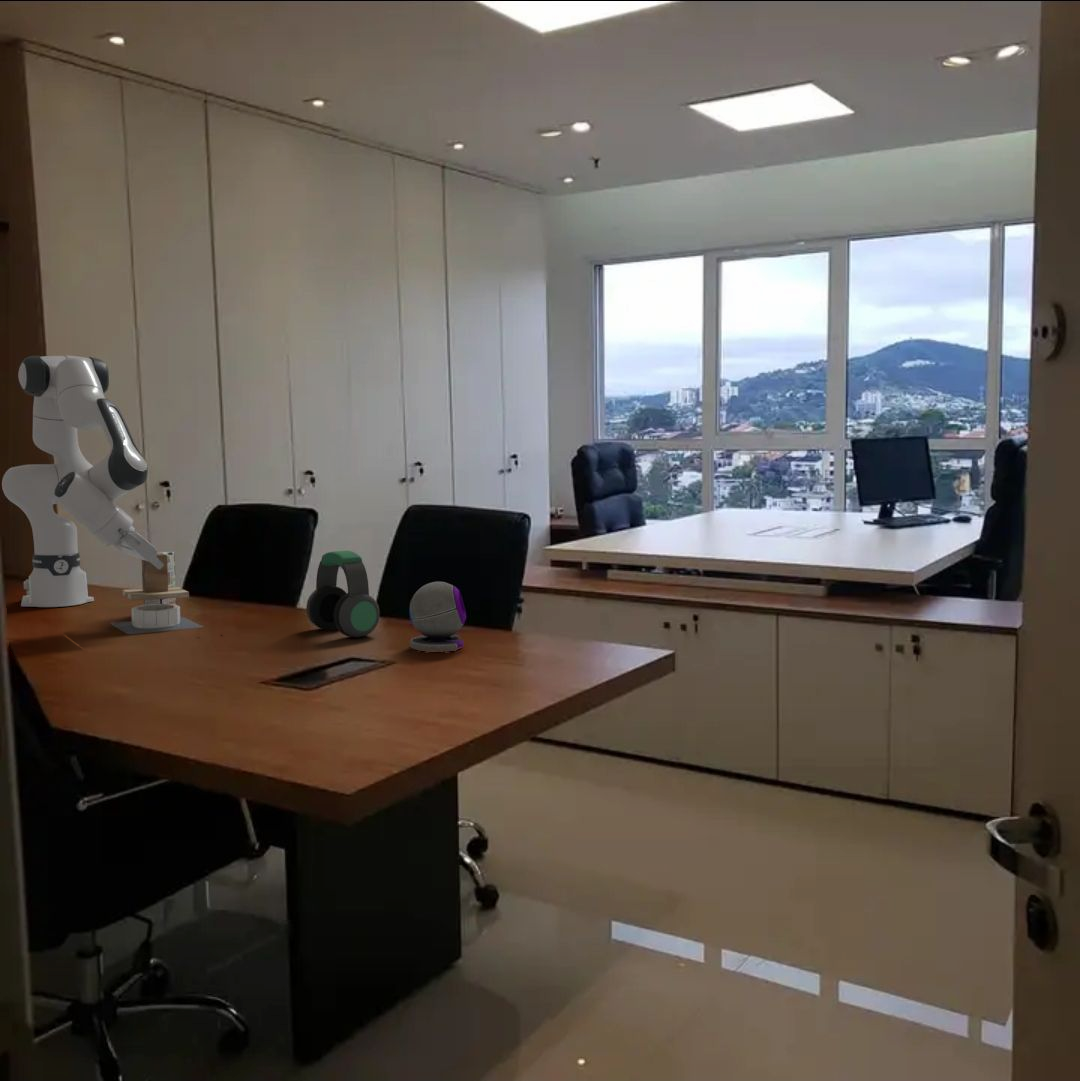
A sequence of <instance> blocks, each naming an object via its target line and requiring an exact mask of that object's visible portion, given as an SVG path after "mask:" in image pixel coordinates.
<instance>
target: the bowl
mask: <svg viewBox="0 0 1080 1081" xmlns="http://www.w3.org/2000/svg"><path fill="white" fill-rule="evenodd" d="M130 609H131V621H132V623H133V627H134V628H139V629H161V628H170V627H175V626H178V625H179V624H180V617H181V607H180V605H178V604H177V605H173V604H150V605H144V604H142V605H135V606H133V607H132V608H130Z"/></svg>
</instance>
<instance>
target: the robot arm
mask: <svg viewBox="0 0 1080 1081" xmlns="http://www.w3.org/2000/svg"><path fill="white" fill-rule="evenodd" d="M109 372H110V371H109V368H108V365H107V364H106V363H105V361H104V360H102V359H100V358H96V357H92V356H88V357H84V356H77V355H70V354H69V355H67V354H65V355H47V356H40V355H32V356H27V357H25V358H24V359H23V360H22V361H21V363H20V364H19V368H18V375H17V376H18V382H19V384H20V387H21V390H22V391H23V392H24V393H25V394H26V395H29V396H32V397H33V406H32V441H33V444H34V445H35V446H36V447H37V448H38V449H40V450H41V451H43V452H45V453H47V454H49V455H52V456H54V457H55V463H49V464H48V463H47V464H40V463H39V464H37V463H36V464H35V463H34V464H22V465H17V466H12V467H10V468H9V469H7V470H6V471H5V473H4V474H3V477H2V481H1V488H2V491H3V494H4V496H5V497H6V498H7V499H8V501H10V502H11V503H13V504H14V505H15V506H17V507H18V508H20V510H21V511H22V512H23V513H24V514H25V515H26V517H27V519H28V520H29V521H28V522H30V526H31V529H32V536H33V537H32V538H33V546H34V548H33V549H34V552H33V554H32V567H33V570H32V572H31V573H30V574H29V576H28V579H25V581H23V590H26V591H25V594H26V595H22V599H21V604H20V607H23V608H24V607H25V608H26V607H37V608H58V607H70V606H77V605H82V604H85V603H89V602H94V601H95V598H94V596H89V595H88V592H89V591H88V581H87V573H86V572H85V571H84V570H83V569H81V567H80V565H81V555H80V552H79V550H78V549H79V548H78V543H79V542H78V528H77V525H76V523H75V522H74V521H72V520H71V519H70V518H68V517H64V516H63V515H60V514H58V513H56V511H55V510H54V505H58V504H59V505H60V506H61V507H62V508H63V509H64V510H65V511H66V512H67V513H68V514H69V515H70V516H71V517H72V518H74V519H75V521H77V522H79V523H81V524H83V525H84V526H85V527H86V528H87V529H88V531H89V532H90V533H91V534H92V535H93V536H94V537H96V538H97V540H99V541H100V542H101V543H102V544H103V545H104V546H106V547H109V546H114V547H115V548H116V549H118V550H120V551H121V552H122V553H124V554H125V555H127V556H131V557H134V558H137V559H139V560H141V561H142V560H145V561H148V562H150V563H151V564H152V565H153V566H154V567H155V568H157V569H161V568H162V567H163V566H164V564H163V563H162V562H161V561H160V560H159V559H158V558H157V556H156V554H157V553H158V552H159V550H158V549H157V548H156V547H155V546H154V545H153V544H152V543H150V542H149V541H148V540H147V539H146V538H145V537H143V536H142V535H141V533H138V532H137V531H136V529H135V527H134V526H133V524H134V519H133V518H132V517H131V516H130V515H128V513H126V512H125V510H123V509H122V508H121V507H120V506H118V505H117V504H115V503H114V502H115V501H116V500H118V499H121V497H123V496H125V495H126V494H127V493H128V492H130V491H132V490H134V489H136V488H137V487H140V486H141V485H143V484H144V483H145V482H146V480H147V479H148V464H147V461H146V459H145V458H144V456H143V455H142V453H141V452H140V451H139V450H140V449H138V446H137V445H136V442H135V441H134V438H133V436H132V433H131V431H130V430H129V427H128V425H127V422H126V419H125V418H124V416H123V414H122V412H121V411H120V409H119V407H118V406H117V405H116V403H114V401H113V400H111V399H108V398H106V397H105V393H107V391H108V389H109V384H110V379H111V378H110V377H111V376H110V373H109ZM98 429H103V432H104V435H105V437H106V439H107V442H108V443H109V446H110V449H109V452H108V453H107V455H106V456H105V457H104V458H103V459H101V460H100V461H98V462H97V463H96V464H95V465H93V464H91V463H90V462H89V461H88V460H87V459H86V458H85V456H84V455H83V453H82V450H81V449H80V445H79V437H78V436H79V435H78V430H84V431H93V430H98Z"/></svg>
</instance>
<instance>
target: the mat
mask: <svg viewBox="0 0 1080 1081" xmlns="http://www.w3.org/2000/svg"><path fill="white" fill-rule="evenodd" d="M109 624H110V625H112V626H113V627H115V628H117V629H118V630H120V631H122V632H123V633H124V634H126V635H137V634H147V633H148V634H149V633H159V632H160V633H161V632H166V631H167V632H168V631H179V630H189V629H200V628H204V626H203V625H200V624H198V623H196V622H195V621H192V620H190V619H188V618H186V617H184V616H180V624H179V625H178V626H175V627H170V628H161V629H139V628H134V627H133V623H132V620H130V621H129V620H128V621H117V622H109Z"/></svg>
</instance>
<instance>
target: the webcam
mask: <svg viewBox="0 0 1080 1081" xmlns="http://www.w3.org/2000/svg"><path fill="white" fill-rule="evenodd" d="M408 610H409V618H410V621H411V624H412V626H413V627H414V628H415V629H416V631H417V632H419V633H420V634H421V635H418V636H415V637H412V638H411V639H410V641H409V648H410V647H411V648H413V649H417V650H422V651H449V650H456V649H457V648H459V647H462V646H463V645H465V644H464V641H463V640H461V637H460V635H457V633H458V632H459V631H460V630H461V629H462V627H463V625H464V624H465V622H466V619H467V613H466V607H465V604H464V600H463V597H462V594H461V591H460V590H459V589H458V588H457V587H456V586H455V585H453V584H450V583H448V582H445V581H433V582H429V583H426V584H424V585H422V586H421V587H420V588H419V589H418V590H417V591H416V592H415V593H414V594H413V596H412V598H411V600H410V602H409V609H408ZM411 648H410V649H411Z"/></svg>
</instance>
